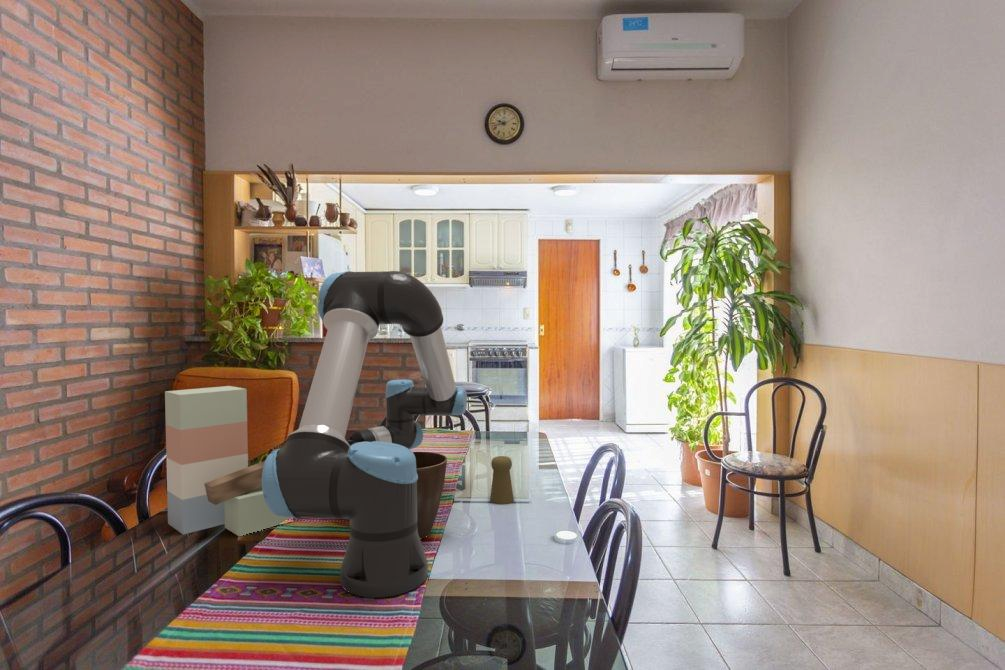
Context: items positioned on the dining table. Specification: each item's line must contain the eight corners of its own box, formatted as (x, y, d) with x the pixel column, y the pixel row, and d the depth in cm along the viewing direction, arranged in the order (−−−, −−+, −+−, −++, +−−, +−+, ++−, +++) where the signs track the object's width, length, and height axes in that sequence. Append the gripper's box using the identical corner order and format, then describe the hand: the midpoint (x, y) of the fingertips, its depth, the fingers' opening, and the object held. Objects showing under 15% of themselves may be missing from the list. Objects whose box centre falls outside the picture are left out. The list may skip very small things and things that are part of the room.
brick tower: (231, 508, 138) (229, 385, 137) (249, 517, 131) (246, 388, 130) (167, 523, 128) (164, 391, 127) (182, 534, 121) (179, 395, 120)
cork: (514, 496, 145) (514, 454, 145) (512, 504, 139) (512, 460, 139) (491, 496, 145) (491, 453, 145) (488, 503, 139) (488, 459, 139)
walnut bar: (318, 457, 139) (315, 441, 138) (326, 459, 136) (323, 444, 135) (208, 501, 120) (204, 483, 120) (215, 505, 118) (211, 487, 117)
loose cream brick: (277, 513, 133) (277, 480, 133) (293, 521, 128) (293, 486, 128) (224, 527, 125) (224, 491, 125) (239, 536, 119) (238, 499, 119)
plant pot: (435, 551, 111) (434, 470, 110) (364, 545, 114) (363, 467, 113) (456, 524, 125) (455, 452, 125) (393, 520, 128) (392, 450, 128)
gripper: (389, 462, 141) (301, 483, 124) (352, 452, 153) (266, 469, 136) (388, 433, 141) (300, 449, 124) (351, 424, 153) (266, 438, 136)
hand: (283, 459), depth 130 cm, fingers closed on walnut bar, 4 cm apart
